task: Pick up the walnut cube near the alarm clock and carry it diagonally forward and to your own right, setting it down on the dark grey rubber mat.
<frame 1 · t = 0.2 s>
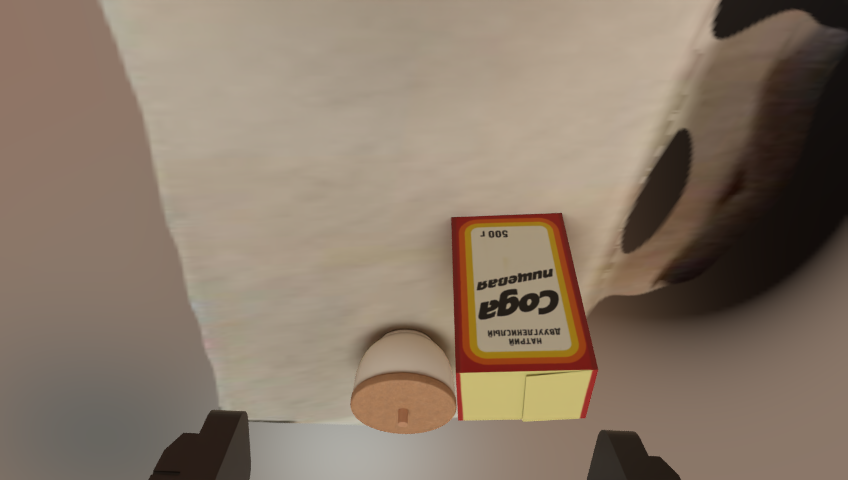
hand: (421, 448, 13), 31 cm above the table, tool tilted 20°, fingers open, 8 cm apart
lidded jar: (406, 344, 64), on the table
baking soda box: (504, 240, 52), on the table
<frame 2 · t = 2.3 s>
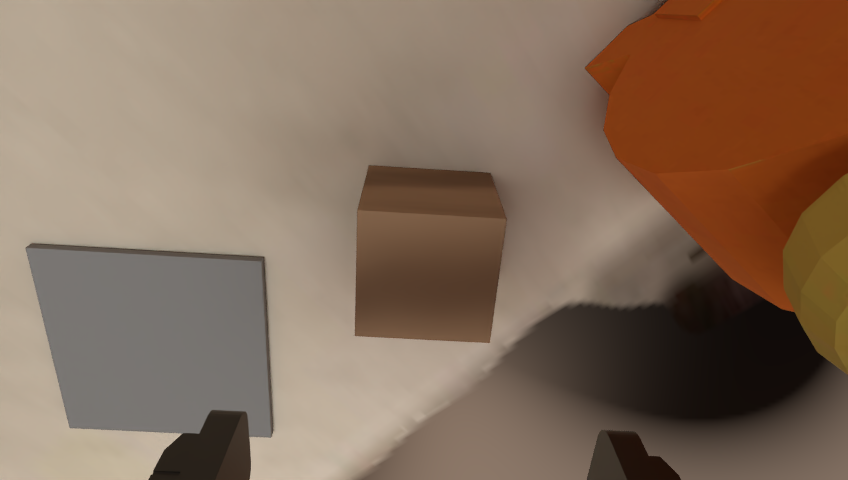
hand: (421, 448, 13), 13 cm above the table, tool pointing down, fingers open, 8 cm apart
alarm clock: (736, 20, 21), on the table
cube: (425, 224, 25), on the table
mat: (162, 345, 27), on the table
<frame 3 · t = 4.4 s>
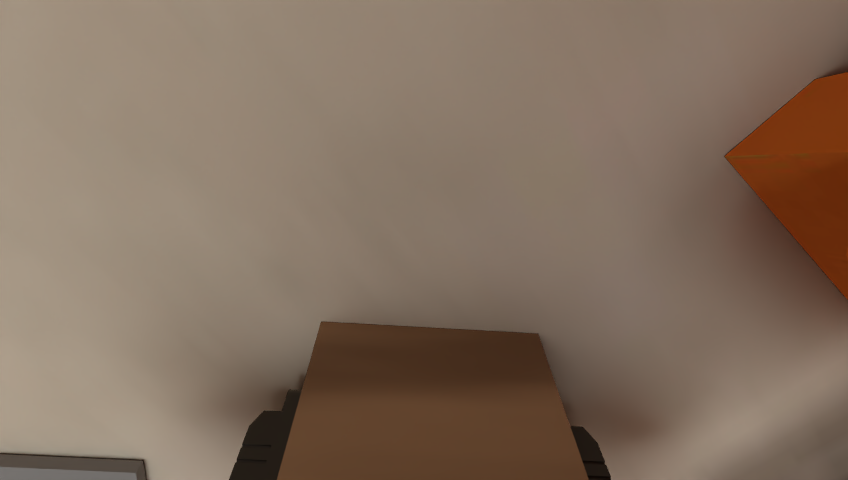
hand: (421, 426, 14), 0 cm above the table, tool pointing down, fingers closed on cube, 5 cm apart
cube: (422, 413, 14), on the table, touching gripper
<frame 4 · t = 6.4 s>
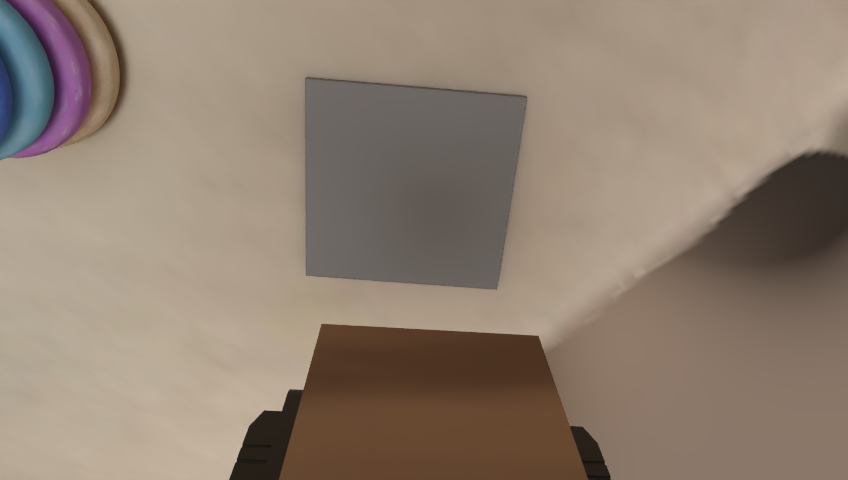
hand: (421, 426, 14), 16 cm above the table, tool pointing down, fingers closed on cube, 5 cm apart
cube: (423, 415, 14), point 16 cm above the table, touching gripper
mat: (409, 190, 28), on the table
stacking toy: (39, 53, 26), on the table
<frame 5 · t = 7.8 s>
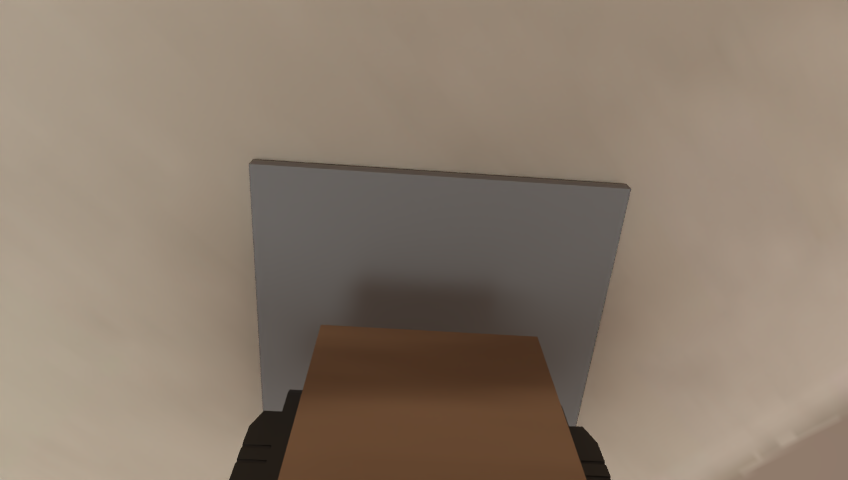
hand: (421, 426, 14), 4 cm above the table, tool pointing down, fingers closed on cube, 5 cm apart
cube: (422, 416, 14), point 4 cm above the table, touching gripper
mat: (427, 329, 17), on the table
when the fingers open (2 cm above the table, at t = 8.9 s): cube drops 1 cm, resting on mat.
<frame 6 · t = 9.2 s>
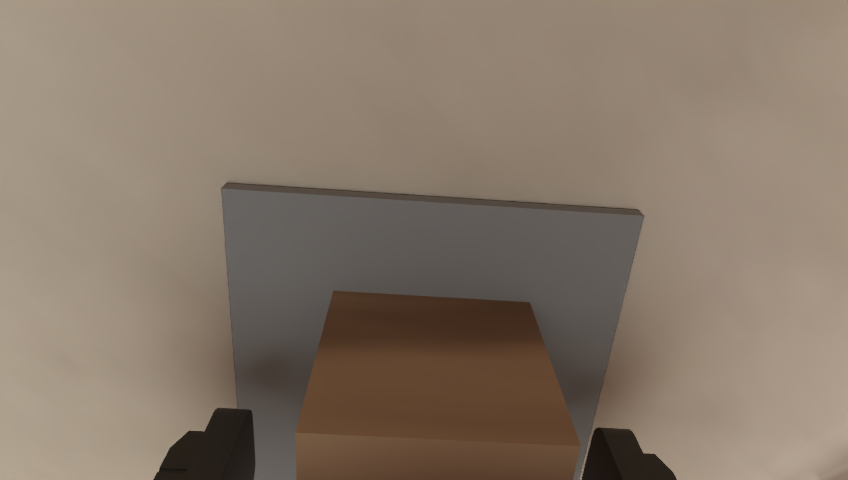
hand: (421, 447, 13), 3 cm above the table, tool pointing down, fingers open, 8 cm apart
cube: (424, 376, 16), resting on mat
mat: (420, 366, 16), on the table
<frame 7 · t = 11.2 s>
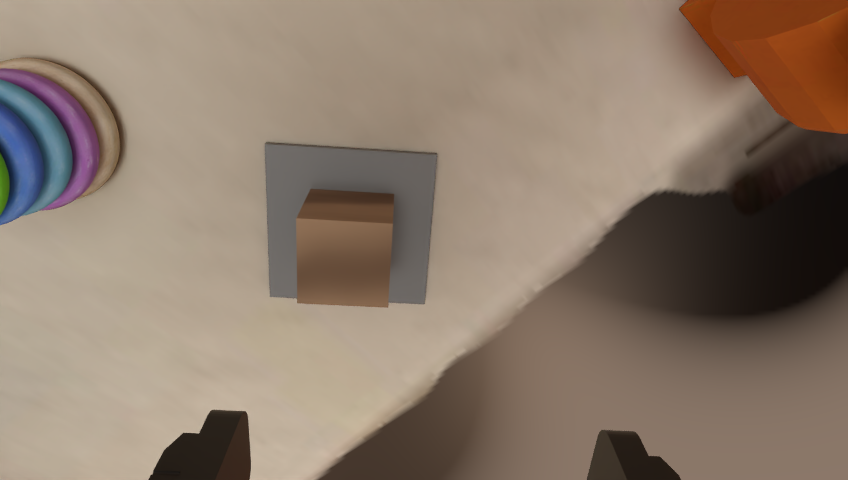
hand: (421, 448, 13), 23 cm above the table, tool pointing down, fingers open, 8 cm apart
cube: (351, 229, 35), resting on mat
mat: (350, 226, 36), on the table
stacking toy: (55, 128, 33), on the table
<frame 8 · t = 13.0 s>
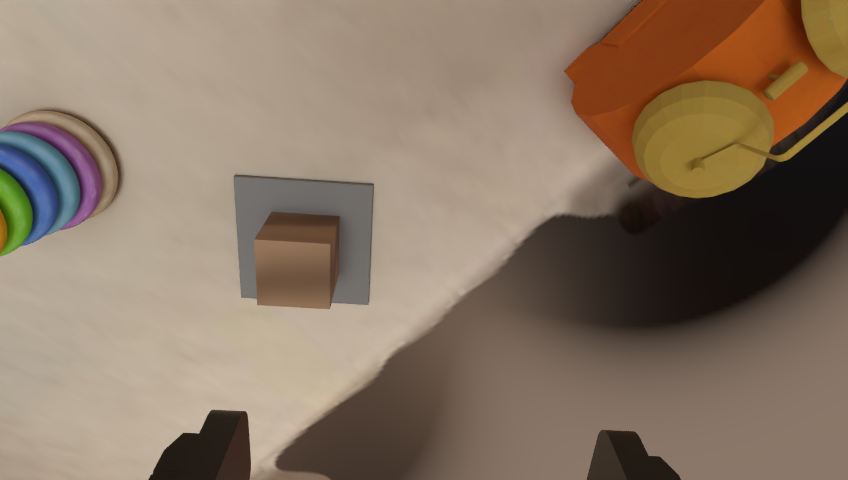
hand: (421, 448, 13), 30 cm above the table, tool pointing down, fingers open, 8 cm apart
alarm clock: (648, 44, 39), on the table
cube: (305, 244, 44), resting on mat
mat: (305, 241, 44), on the table
stacking toy: (67, 162, 41), on the table
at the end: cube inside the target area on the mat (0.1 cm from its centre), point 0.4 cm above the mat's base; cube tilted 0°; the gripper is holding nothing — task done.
